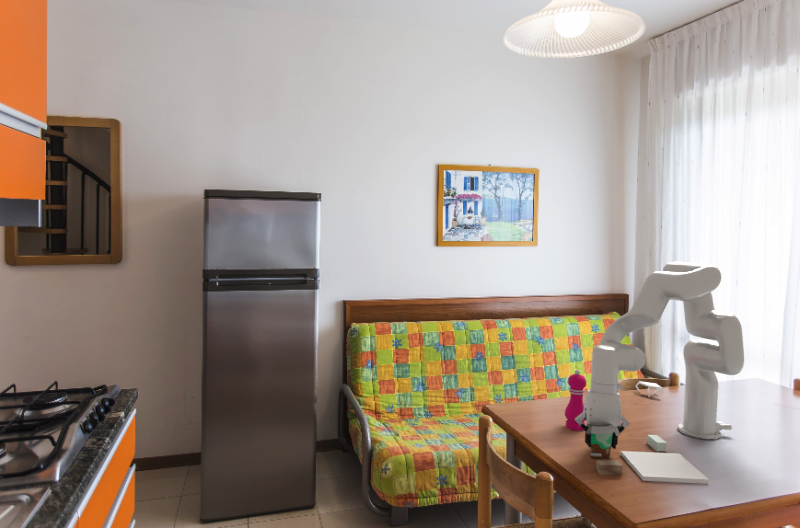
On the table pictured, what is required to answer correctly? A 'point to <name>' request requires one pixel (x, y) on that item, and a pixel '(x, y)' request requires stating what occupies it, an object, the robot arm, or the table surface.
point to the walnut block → (609, 467)
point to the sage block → (656, 443)
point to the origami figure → (652, 385)
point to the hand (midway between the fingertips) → (600, 445)
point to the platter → (663, 467)
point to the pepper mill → (575, 400)
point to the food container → (601, 441)
